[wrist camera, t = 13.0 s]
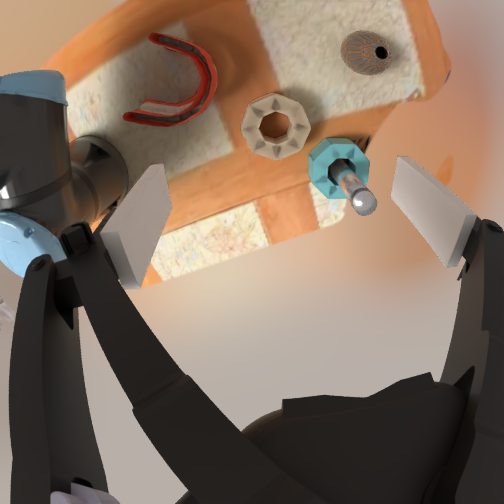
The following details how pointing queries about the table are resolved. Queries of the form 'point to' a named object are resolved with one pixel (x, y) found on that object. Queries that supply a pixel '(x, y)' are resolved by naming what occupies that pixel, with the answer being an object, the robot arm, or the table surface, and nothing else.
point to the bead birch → (281, 144)
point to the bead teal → (329, 153)
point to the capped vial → (353, 188)
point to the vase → (366, 53)
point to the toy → (185, 110)
